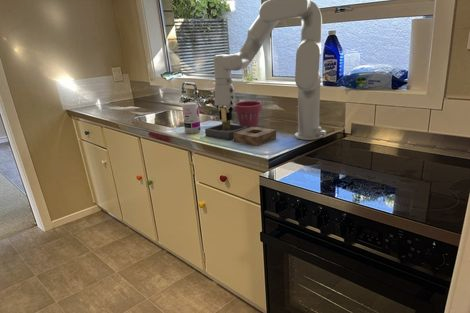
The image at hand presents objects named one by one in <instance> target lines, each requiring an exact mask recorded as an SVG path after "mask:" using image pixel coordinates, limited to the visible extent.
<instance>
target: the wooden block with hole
mask: <svg viewBox="0 0 470 313" xmlns="http://www.w3.org/2000/svg"><path fill="white" fill-rule="evenodd" d="M276 139H277V129H271V128H267V127H266V128H265V127H253V126H252V127H249V128H246V129H243V130H240V131H237V132H234V133H233V139H232V140H233V142H235V143H240V144H244V145H250V146H255V147H258V146H260V145H261V146H262V145H264V144H265V143H268V142H272V141H274V140H276Z"/></svg>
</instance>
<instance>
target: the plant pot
mask: <svg viewBox="0 0 470 313" xmlns="http://www.w3.org/2000/svg"><path fill="white" fill-rule="evenodd" d="M235 104H236V107H235V108H234V112H236V116H237V119H238V124H239V125H240V126H247V127H248V128H249V127H252V126H253V127H258V125H259V121H260V116H261V115H260V114H261V111H263V110H262V109H263V107H262V102H261V101H258V100H256V101H255V100H247V101H244V100H243V101H238V102H236V103H235Z"/></svg>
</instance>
